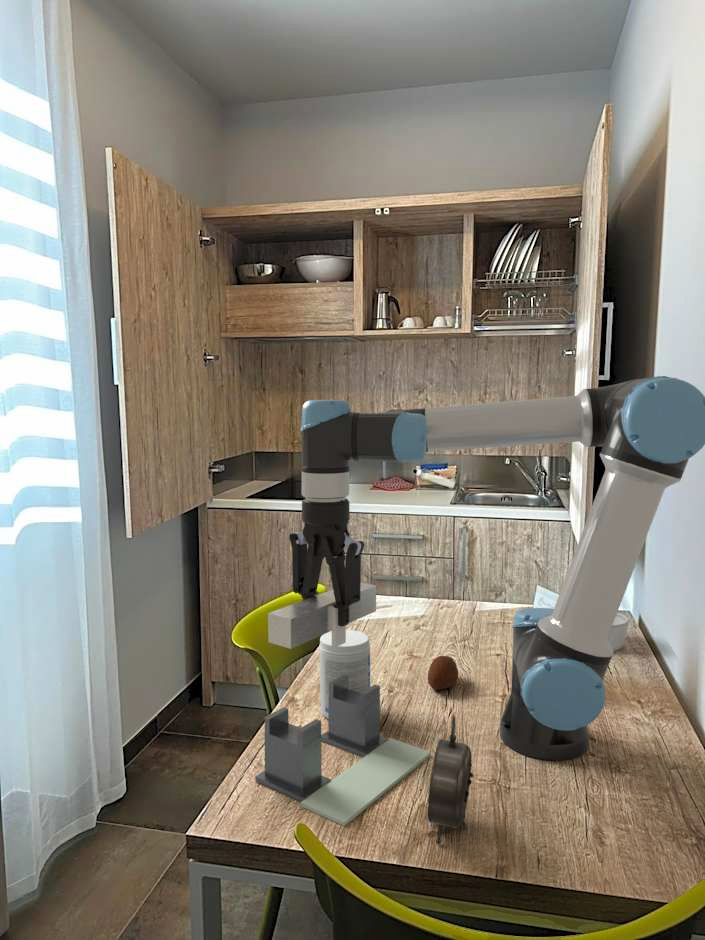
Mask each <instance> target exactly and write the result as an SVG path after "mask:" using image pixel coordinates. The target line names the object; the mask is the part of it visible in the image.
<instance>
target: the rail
mask: <svg viewBox="0 0 705 940" xmlns="http://www.w3.org/2000/svg"><path fill="white" fill-rule="evenodd" d="M334 604H336V602H335V596H334V591H333V589H331V590H328V591H325V592H322V593H319V594H318V595H315V596H314V597H311V598H308V599H305V600H303V599H302V600H301V601H300V600H299V601H298V602H294V603H293V604H290V605H287V606H283V607H282V608H278V609H276V610H272V611H271V612H268V613H267V622H268V623H267V624H268V625H267V627H268V629H267V632H268V633H267V634H268V637H267V638H268V643H270V644H273V645H277V646H280V647H284V648H286V649H290V650H292V649H294V648H296V647H298V646H301V645H303V644H305V643H307V642H310V641H311V640H314V639H317V638H319V637H321V636H322V635H324V634H326V633H328V632H331V631H332V606H333V605H334ZM375 612H377V585H375V584H371V583H365V582H361V586H360V601H359V602H356V603H354V604H351V605H350V606H349V624H350V623H352V622H354V621H357V620H360V619H362V618H364V617H366V616H368V615H371V614H373V613H375Z"/></svg>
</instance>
